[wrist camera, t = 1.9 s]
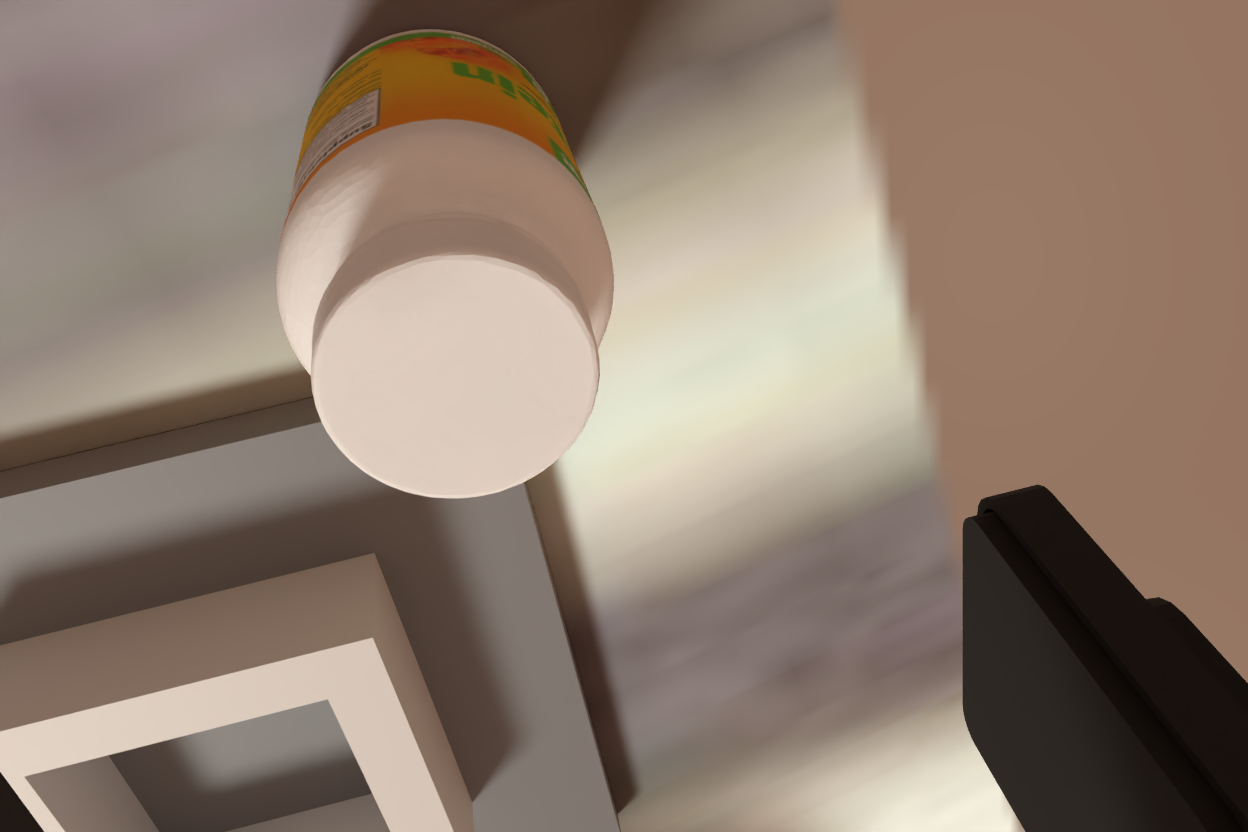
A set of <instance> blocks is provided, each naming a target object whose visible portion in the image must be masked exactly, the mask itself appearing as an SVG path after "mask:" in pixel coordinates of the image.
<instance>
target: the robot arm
mask: <svg viewBox="0 0 1248 832" xmlns="http://www.w3.org/2000/svg"><path fill="white" fill-rule="evenodd" d="M963 712H964V716H965V721H966V724H967V727H968V730H969V732H970V735H971V737H972V739H973V741H974V743H975V745H976V747H977V749H978V750H979V752H980V754H981V756H982V757H983V759H984V761H985V763H986V764H987V766H988V768H989V769H990V771H991V773H992V775H993V776H994V778H995V780H996V782H997V783H998V785H999V787H1000V788H1001V790H1002V792H1003V794H1004V795H1005V797H1006V799H1007V801H1008V802H1009V804H1010V806H1011V807H1012V809H1013V811H1014V813H1015V814H1016V816H1017V818H1018V820H1019V821H1020V823H1021V825H1022V826H1023V828H1024V830H1025V832H1248V683H1247V682H1246V681H1245V680H1244V679H1243V678H1242V677H1241V676H1240V674H1238V672H1237V671H1236V670H1235V669H1234V668H1233V667H1232V666H1231V665H1230V663H1229V662H1228V661H1227V660H1226V659H1225V658H1224V657H1223V656H1222V655H1221V654H1220V653H1219V652H1218V651H1217V649H1216V648H1215V647H1214V646H1213V645H1212V644H1211V643H1210V642H1209V641H1208V639H1207V638H1206V637H1205V636H1204V635H1203V634H1202V633H1201V632H1200V631H1199V630H1198V629H1197V627H1196V626H1195V625H1194V624H1193V623H1192V622H1191V621H1190V620H1189V619H1188V618H1187V616H1186V615H1185V614H1183V613H1182V612H1181V611H1180V610H1179V609H1178V608H1177V607H1176V606H1174V605H1173V604H1172V603H1171V602H1168V601H1166V600H1164V599H1161V598H1150V599H1145V598H1144V597H1143V596H1142V595H1141V593H1140V592H1139V591H1138V590H1137V589H1136V588H1135V587H1134V585H1133V584H1132V583H1131V582H1130V581H1129V580H1128V579H1127V577H1125V575H1124V574H1123V573H1122V572H1121V571H1120V570H1119V568H1118V567H1117V566H1116V565H1115V564H1114V563H1113V562H1112V561H1111V559H1110V558H1109V557H1108V556H1107V555H1106V554H1105V553H1104V551H1102V549H1101V548H1100V547H1099V546H1098V545H1097V544H1096V543H1095V541H1094V540H1093V539H1092V538H1091V537H1090V536H1089V535H1088V534H1087V532H1086V531H1085V530H1084V529H1083V528H1082V527H1081V525H1080V524H1079V523H1078V522H1077V521H1076V520H1075V519H1074V518H1073V516H1072V515H1071V514H1070V513H1069V512H1068V511H1067V510H1066V509H1065V507H1064V506H1063V505H1062V504H1061V503H1060V502H1059V501H1058V500H1057V498H1056V497H1055V496H1054V495H1053V494H1052V493H1051V492H1050V491H1049V490H1048V489H1047V488H1045V487H1044V486H1041V485H1035V486H1031V487H1027V488H1022V489H1019V490H1015V491H1010V492H1007V493H1003V494H998V495H994V496H990V497H986V498H984V499H982V500H981V501H980V503H979V505H978V513H977V515H976V516H972V517H968V518H966V519H965V521H964V523H963ZM0 832H44V831H43V829H42V828H41V826H40V825H39V824H38V822H37V821H36V820H35V818H34V817H33V816H32V814H31V813H30V811H29V810H28V809H27V807H26V806H25V805H24V803H23V802H22V801H21V799H20V798H19V796H18V795H17V794H16V792H15V791H14V790H13V788H12V787H11V786H10V784H9V783H8V781H7V780H6V779H5V777H4V776H3V775H2V773H1V772H0Z"/></svg>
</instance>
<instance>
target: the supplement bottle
mask: <svg viewBox="0 0 1248 832" xmlns="http://www.w3.org/2000/svg"><path fill="white" fill-rule="evenodd" d="M613 291H614V274H613V266H612V259H611V252H610V248H609V245H608V241H607V237H606V234H605V231H604V229H603V226H602V223H601V220H600V217H599V215H598V212H597V210H596V208H595V206H594V204H593V201H592V199H591V197H590V195H589V192H588V190H587V187H586V185H585V183H584V180H583V178H582V176H581V173H580V171H579V169H578V167H577V164H576V162H575V159H574V157H573V155H572V152H571V150H570V147H569V145H568V142H567V140H566V137H565V135H564V132H563V130H562V127H561V124H560V122H559V120H558V117H557V115H556V113H555V110H554V108H553V106H552V105H551V103H550V101H549V99H548V97H547V96H546V94H545V93H544V91H543V90H542V88H541V87H540V85H539V84H538V83H537V81H536V80H535V79H534V78H533V76H532V75H531V74H530V73H529V72H528V71H527V70H526V69H525V68H524V67H523V66H522V65H521V64H520V63H519V62H518V61H516V60H515V59H514V58H513V57H512V56H510V55H509V54H507V53H506V52H505V51H503V50H502V49H500V48H498V47H496V46H494V45H492V44H490V43H488V42H486V41H484V40H482V39H480V38H477V37H474V36H471V35H467V34H464V33H460V32H455V31H448V30H441V29H422V30H411V31H406V32H401V33H397V34H394V35H390V36H387V37H385V38H382V39H380V40H378V41H375V42H373V43H371V44H369V45H368V46H366V47H364V48H363V49H361V50H360V51H358V52H357V53H355V54H354V55H353V56H351V57H350V58H349V59H348V60H347V61H346V62H344V63H343V64H342V65H341V66H340V67H339V68H338V69H337V70H336V71H335V72H334V73H333V74H332V76H331V77H330V78H329V80H328V81H327V82H326V83H325V85H324V87H323V88H322V90H321V92H320V93H319V95H318V97H317V99H316V101H315V104H314V106H313V108H312V111H311V113H310V116H309V118H308V122H307V125H306V129H305V133H304V137H303V142H302V147H301V151H300V155H299V160H298V164H297V168H296V173H295V178H294V182H293V187H292V192H291V197H290V202H289V207H288V211H287V215H286V220H285V224H284V228H283V232H282V238H281V242H280V247H279V254H278V262H277V298H278V305H279V311H280V315H281V319H282V323H283V326H284V329H285V332H286V334H287V337H288V340H289V342H290V344H291V346H292V348H293V350H294V352H295V354H296V355H297V357H298V359H299V360H300V362H301V364H302V365H303V366H304V368H305V369H306V371H307V372H308V373H309V374H310V376H311V384H312V393H313V397H314V402H315V406H316V409H317V412H318V414H319V417H320V419H321V422H322V424H323V426H324V428H325V429H326V431H327V433H328V434H329V436H330V437H331V439H332V440H333V442H334V443H335V444H336V446H337V447H338V448H339V449H340V451H341V452H342V453H343V454H344V455H345V456H346V457H347V458H348V459H349V460H350V461H351V462H352V463H354V464H355V465H356V466H357V467H359V468H360V469H361V470H362V471H364V472H365V473H367V474H368V475H370V476H372V477H373V478H375V479H377V480H378V481H380V482H382V483H384V484H386V485H389V486H391V487H394V488H396V489H399V490H402V491H404V492H408V493H412V494H417V495H422V496H427V497H434V498H469V497H478V496H484V495H488V494H493V493H497V492H501V491H503V490H506V489H508V488H511V487H513V486H516V485H519V484H521V483H523V482H525V481H527V480H529V479H531V478H532V477H534V476H536V475H537V474H539V473H541V472H542V471H544V470H545V469H546V468H548V467H549V466H550V465H551V464H553V463H554V462H555V461H557V460H558V459H559V458H560V457H561V456H562V455H563V454H564V453H565V452H566V451H567V450H568V449H569V448H570V446H571V445H572V444H573V443H574V441H575V440H576V439H577V437H578V436H579V435H580V433H581V432H582V430H583V428H584V426H585V424H586V422H587V420H588V418H589V416H590V414H591V412H592V409H593V406H594V403H595V398H596V394H597V391H598V384H599V376H600V369H599V355H598V348H599V345H600V343H601V340H602V338H603V336H604V333H605V331H606V328H607V325H608V322H609V318H610V315H611V309H612V304H613Z"/></svg>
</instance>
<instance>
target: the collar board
mask: <svg viewBox="0 0 1248 832" xmlns="http://www.w3.org/2000/svg"><path fill="white" fill-rule="evenodd" d="M0 772H1V773H2V775H3V776H4V777H5V779H6V780H7V781H8V783H9V784H10V786H11V787H12V788H13V790H14V791H15V792H16V794H17V795H18V796H19V798H20V799H21V801H22V802H23V803H24V805H25V806H26V807H27V809H28V810H29V811H30V813H31V814H32V816H33V817H34V818H35V820H36V821H37V822H38V824H39V825H40V826H41V828H42V829H43V831H44V832H621V830H620V825H619V820H618V816H617V812H616V808H615V805H614V801H613V797H612V794H611V790H610V786H609V783H608V779H607V775H606V772H605V768H604V765H603V761H602V757H601V754H600V750H599V746H598V743H597V739H596V735H595V732H594V728H593V724H592V721H591V717H590V714H589V710H588V706H587V703H586V699H585V695H584V692H583V688H582V684H581V681H580V677H579V673H578V670H577V666H576V662H575V659H574V655H573V652H572V648H571V644H570V641H569V637H568V633H567V630H566V626H565V622H564V619H563V615H562V611H561V608H560V604H559V601H558V597H557V593H556V590H555V586H554V582H553V579H552V575H551V571H550V568H549V564H548V560H547V557H546V553H545V549H544V546H543V542H542V539H541V535H540V531H539V528H538V524H537V520H536V517H535V513H534V509H533V506H532V502H531V498H530V495H529V491H528V487H527V484H526V481H525V482H523V483H521V484H519V485H516V486H513V487H511V488H508V489H506V490H503V491H501V492H497V493H493V494H488V495H484V496H478V497H469V498H434V497H427V496H422V495H417V494H412V493H408V492H404V491H402V490H399V489H396V488H394V487H391V486H389V485H386V484H384V483H382V482H380V481H378V480H377V479H375V478H373V477H372V476H370V475H368V474H367V473H365V472H364V471H362V470H361V469H360V468H359V467H357V466H356V465H355V464H354V463H352V462H351V461H350V460H349V459H348V458H347V457H346V456H345V455H344V454H343V453H342V452H341V451H340V449H339V448H338V447H337V446H336V444H335V443H334V442H333V440H332V439H331V437H330V436H329V434H328V433H327V431H326V429H325V428H324V426H323V424H322V422H321V419H320V417H319V414H318V412H317V409H316V406H315V402H314V397H312V398H308V399H304V400H300V401H295V402H291V403H287V404H283V405H279V406H274V407H270V408H266V409H262V410H258V411H253V412H249V413H245V414H241V415H237V416H232V417H228V418H224V419H220V420H216V421H211V422H207V423H203V424H199V425H194V426H190V427H186V428H182V429H178V430H173V431H169V432H165V433H161V434H157V435H152V436H148V437H144V438H140V439H136V440H131V441H127V442H123V443H119V444H114V445H110V446H106V447H102V448H98V449H93V450H89V451H85V452H81V453H77V454H72V455H68V456H64V457H60V458H56V459H51V460H47V461H43V462H39V463H35V464H30V465H26V466H22V467H18V468H13V469H9V470H5V471H1V472H0Z"/></svg>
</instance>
